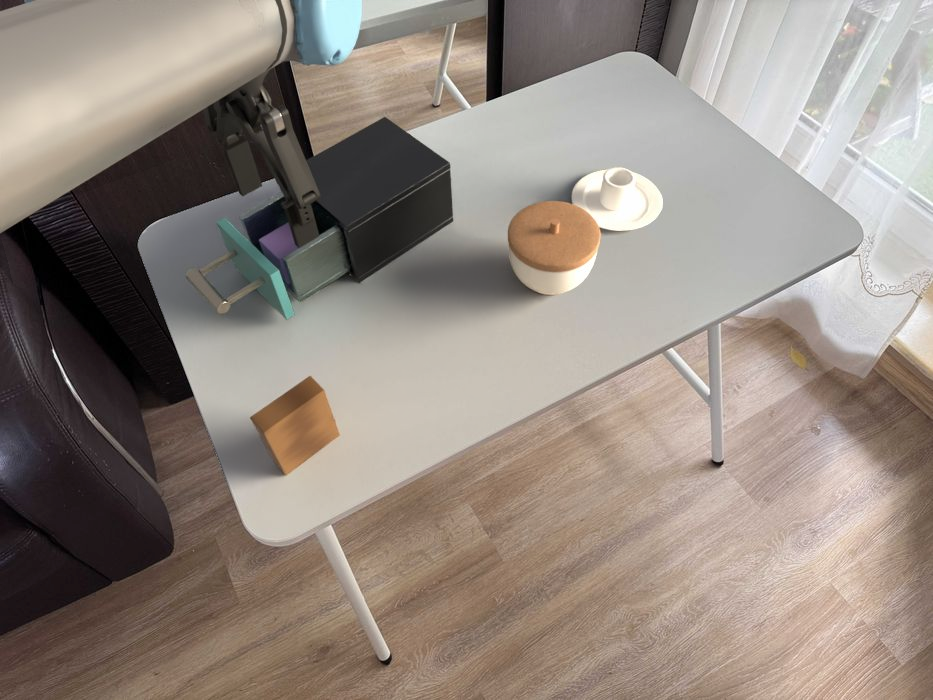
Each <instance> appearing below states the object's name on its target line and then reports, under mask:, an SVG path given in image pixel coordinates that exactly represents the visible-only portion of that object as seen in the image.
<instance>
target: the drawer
mask: <svg viewBox="0 0 933 700" xmlns="http://www.w3.org/2000/svg"><path fill="white" fill-rule="evenodd" d="M284 198H285V197H284V195H283V193H282V191H281V192H280V193H278V194H276V195H274V196H272V197H270V198H268V199H267V200H265V201H264V202H262V203H260V204H259V205H257V206H255V207H253V208H251V209H250V210H248V211H246V212H244V213H242V214H241V215H239V216H238V217H239V220H240V223H241V226H242V228H243V231H244V233H245V236H246V237H245V236H244V235H243V234H242V233H241V232H240V231H239V230H238V229H237V228H236V227H235V226H234V225H233V224H232V223H231V222H230V221H229V220H228V219H226V217H222V218H221V219H219V220H218V221H216V222H215V224H216V227H217V229H218V231H219V234H220V236H221V238H222V240H223V243H224V245H225V247H226V250H227V252H226V253H225V254H224V255H222V256H221V257H218V258H217V259H215V260H213V261H212V262H210V263H208V264H206V265H204V266H202V267H201V268H199V269H197V268H191V269H189V270H188V271H187V272H186V273H185V278H186V279H187V280H188V282H189V283H190V284H191V285H192V286H193V287H194V289H196V291H198V292H199V294H200V295H201V296H202V297H203V298H204V299H205V300H206V301H207V302H208V303H209V305H210V306H211V307H212V308H213V309H214V310H215V311H216V312H217V314H220V315H222V314H226V313H228V312H229V310H230V308H231V305H232V304H233V303H235V302H237V301H238V300H240V299H242V298H243V297H245V296H247V295H248V294H250V293H252V292H253V291H254V290H256V291H257V292H258V293H259V294H260V295H261V296H262V297H263V298H264V299H265V300H266V301H267V302H268V303H269V304H270V305H271V306H272V308H274V309H275V310H276V311H277V312H278V313H279V314H280V315H281V316H282V317H283V318H284V319H285V320H287V321H288V320H289V319H291V318H292V317H293V316H295V312H294V309H293V306H292V303H291V300H290V297H289V295H288V292H289V293H290V294H291V295H292V297H294V298H295V299H296V300H297V301H298V302H299V303H302V302H304V301H306V300H307V299H308V298H310V297H312V296H313V295H315V294H316V293H318V292H319V291H321V290H322V289H324V288H325V287H328V286H329V285H330V284H331V283H334V282H335V281H337V280H338V279H339V278H341V277H343V276H344V275H346V274H348V273H347V272H349V271H350V270H352V269H353V268H352V263H351V259H350V255H349V250H348V246H347V242H346V237H345V233H344V228H342V227H341V226H340V225H339V224H338V223H337V222H335V221H334V220H333V219H332V218H331V217H330V216H329V215H327V214H326V213H325V212H324V211H323V210H322V209H320V208H319V207H318V206H317V205H316V204H315V203H313V202H312V203H311V207H312V210H313V214H314V218H315V222H316V226H317V230H318V233H319V237H317V238H316V239H314V240H312V241H311V242H309V243H307V244H306V245H304V246H302V247H301V248H298V249H296V250H294V251H293V252H291V253H289V254H288V255H286V256H285V257H283V261H284V264H285V266H286V269H287V272H288V275H289V278H290V281H291V283H290V284H289V285H288V284H287V283H286V282H285V281H284V280H283V279H282V278H281V275H280V272H279V270H278V269H277V268H276V267H275V266H274V265H273V264H272V263H271V262H270V261H269V260H268V259H267V258H266V257H265V256H264V253H263V251H262V248H261V245H260V242H259V239H261V238H262V237H264V236H266V235H268V234H269V233H271V232H273V231H274V230H276V229H278V228H279V227H281V226H283V225H284V224H286V223H288V219H287V216H286V213H285V209H284V208H283V207H282V206H281V203H282V199H284ZM230 260H231V262H232V264H233V266H234V268H235V269H236V271H238V272H239V274H241V276H242V277H243V278H244V279H246V280H247V282H248V283H249V284H247V285H246V286H244V287H242V288H241V289H239V290H238V291H236V292H234V293H232V294H231V295H230V296H228V297H226V298H225V297H224V296H223V295H222V293H220V292H219V291H218V289H216V287H215V286H214V285H213V284H212V283H211V282H210V281H209V280H208V279H207V278H206V276H205V275H207V274H208V273H211V272H212V271H213V270H215V269H217V268H218V267H220V266H221V265H224V264H226V263H227V262H229V261H230ZM287 291H288V292H287Z"/></svg>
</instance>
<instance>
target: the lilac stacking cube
mask: <svg viewBox="0 0 933 700" xmlns="http://www.w3.org/2000/svg"><path fill="white" fill-rule="evenodd" d="M259 242H260V245H261V248H262V251H263V253H264V256H265V257H266V258H267V259H268V260H269V261H270V262H271V263H272V264H273V265H274V266H275V267H276V268H277V269H278V270H279V272H280V275H281V278H282V279H283V280H284V281H285V282H286V283H287V284H288V285H289V284H290V283H291V281H290V278H289V275H288V272H287V269H286V266H285V264H284V261H283V257H285V256H286V255H288V254H289V253H291V252H293V251H294V250H296V249H298V247H297V246H296V245H295V242H294V239H293V236H292V232H291V229H290V226H289V223H286V224H284V225H283V226H281V227H279V228H278V229H276V230H274V231H273V232H271V233H269V234H268V235H266V236H264V237H262V238H261V239H259Z"/></svg>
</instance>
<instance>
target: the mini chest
mask: <svg viewBox="0 0 933 700" xmlns="http://www.w3.org/2000/svg"><path fill="white" fill-rule="evenodd" d="M306 162H307V164H308V166H309V169H310V171H311V174H312V176H313V178H314V181H315V183H316V186H317V188H318V190H319V193H320V196H321V198H319V199H318V200H316V201H314V202H313V203H315V204H316V205H317V206H318V207H319V208H320V209H322V210H323V211H324V212H325V213H326V214H327V215H329V216H330V217H331V218H332V219H333V220H334V221H335V222H337V223H338V224H339V225H340V226H341V227H342V228H344V233H345V237H346V242H347V246H348V250H349V255H350V259H351V263H352V268H353V269H352V270H350V271H349V272H347V273H346V274H348V275H350V276H351V277H352V278H353V279H354V280H355V281H356V282H358V284H360V283H363V282H364V281H365V280H367V279H368V278H369V277H371V276H372V275H374V274H376V273H377V272H378V271H380V270H382V269H383V268H385V267H386V266H387V265H389V264H391V263H392V262H394V261H395V260H397V259H398V258H400V257H402V256H403V255H405V254H406V253H408V252H409V251H410V250H412V249H414V248H415V247H417V246H418V245H420V244H421V243H423V242H424V241H425V240H428V238H431V237H432V236H433V235H435V234H436V233H438V232H439V231H441V230H442V229H445V228H446V227H447V226H449V225H451V223H453V222H454V211H453V210H454V209H453V191H452V190H453V189H452V176H451V163H450V162H449V160H447V159H446V158H444V157H443V156H442V155H440V154H439V153H437V152H436V151H434V150H433V149H431V148H430V147H428V146H427V145H426V144H424V143H423V142H421V141H420V140H419V139H417V138H416V137H414V136H413V135H412V134H410V133H409V132H407V131H406V130H404V129H403V128H402V127H401V126H399V125H398V124H397V123H395V122H393V121H392V120H390V119H389V118H387V117H386V116H383V117H381V118H380V119H378V120H376V121H375V122H372V123H371V124H369V125H367V126H366V127H364V128H362V129H360V130H358V131H356V132H355V133H353V134H351V135H349V136H347V137H346V138H343V139H342V140H340V141H339V142H336V143H334V144H333V145H332V146H330V147H327V148H326V149H324V150H322V151H320V152H318V153H317V154H315V155H313V156H311V157H310V158H308V159H306Z"/></svg>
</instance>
